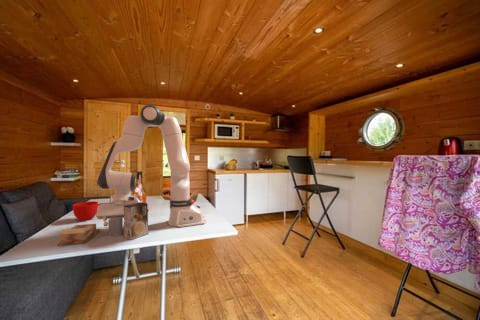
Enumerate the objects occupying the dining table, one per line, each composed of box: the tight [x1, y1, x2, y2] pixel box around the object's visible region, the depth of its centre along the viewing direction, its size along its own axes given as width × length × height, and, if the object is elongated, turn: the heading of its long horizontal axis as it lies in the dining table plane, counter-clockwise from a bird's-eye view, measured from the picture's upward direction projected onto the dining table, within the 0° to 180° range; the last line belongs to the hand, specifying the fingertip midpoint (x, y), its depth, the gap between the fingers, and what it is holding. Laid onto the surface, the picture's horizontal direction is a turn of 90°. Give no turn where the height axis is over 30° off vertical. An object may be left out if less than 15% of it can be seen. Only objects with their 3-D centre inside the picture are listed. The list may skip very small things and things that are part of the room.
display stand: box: [57, 223, 100, 247], centre depth 103 cm, size 11×16×6 cm
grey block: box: [108, 217, 124, 237], centre depth 108 cm, size 5×5×8 cm
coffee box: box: [123, 201, 149, 241], centre depth 105 cm, size 9×6×16 cm
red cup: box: [72, 200, 103, 222], centre depth 133 cm, size 13×17×10 cm
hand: (115, 224), depth 108 cm, fingers open, 8 cm apart
